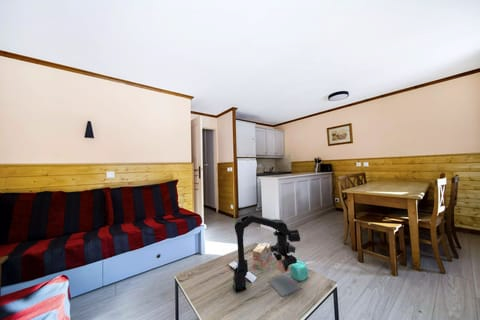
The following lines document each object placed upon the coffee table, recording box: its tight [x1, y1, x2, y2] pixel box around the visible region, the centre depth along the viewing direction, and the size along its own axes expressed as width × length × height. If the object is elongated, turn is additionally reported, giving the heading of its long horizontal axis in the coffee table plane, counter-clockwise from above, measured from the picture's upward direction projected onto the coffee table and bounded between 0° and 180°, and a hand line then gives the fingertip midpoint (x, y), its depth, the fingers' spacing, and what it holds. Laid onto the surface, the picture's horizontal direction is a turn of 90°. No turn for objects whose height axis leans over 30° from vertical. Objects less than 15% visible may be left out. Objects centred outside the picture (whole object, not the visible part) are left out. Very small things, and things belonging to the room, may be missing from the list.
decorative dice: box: [289, 260, 309, 282], centre depth 111 cm, size 8×8×8 cm
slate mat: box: [267, 273, 303, 298], centre depth 104 cm, size 14×14×1 cm
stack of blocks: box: [252, 242, 273, 271], centre depth 131 cm, size 21×6×12 cm, turn 151°
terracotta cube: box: [276, 258, 290, 275], centre depth 104 cm, size 5×5×5 cm
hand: (283, 268), depth 104 cm, fingers closed on terracotta cube, 5 cm apart
